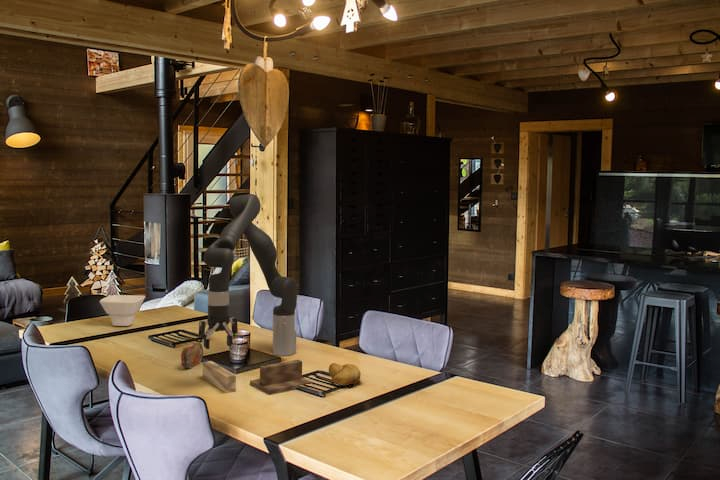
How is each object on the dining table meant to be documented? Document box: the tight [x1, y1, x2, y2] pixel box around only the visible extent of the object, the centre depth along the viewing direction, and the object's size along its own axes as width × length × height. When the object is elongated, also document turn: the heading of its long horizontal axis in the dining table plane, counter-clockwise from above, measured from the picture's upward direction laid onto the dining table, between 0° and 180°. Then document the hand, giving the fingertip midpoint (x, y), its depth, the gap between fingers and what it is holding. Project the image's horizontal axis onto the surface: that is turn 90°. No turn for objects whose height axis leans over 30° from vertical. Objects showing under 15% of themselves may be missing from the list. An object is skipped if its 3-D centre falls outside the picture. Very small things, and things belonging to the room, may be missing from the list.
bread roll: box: [328, 362, 361, 386], centre depth 245 cm, size 13×10×8 cm
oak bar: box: [201, 360, 237, 394], centre depth 241 cm, size 4×22×6 cm, turn 35°
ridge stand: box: [249, 359, 313, 395], centre depth 241 cm, size 18×14×8 cm
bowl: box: [99, 294, 146, 327], centre depth 332 cm, size 19×19×14 cm
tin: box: [180, 342, 204, 369], centre depth 264 cm, size 15×3×8 cm, turn 168°
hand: (218, 347), depth 240 cm, fingers open, 8 cm apart
